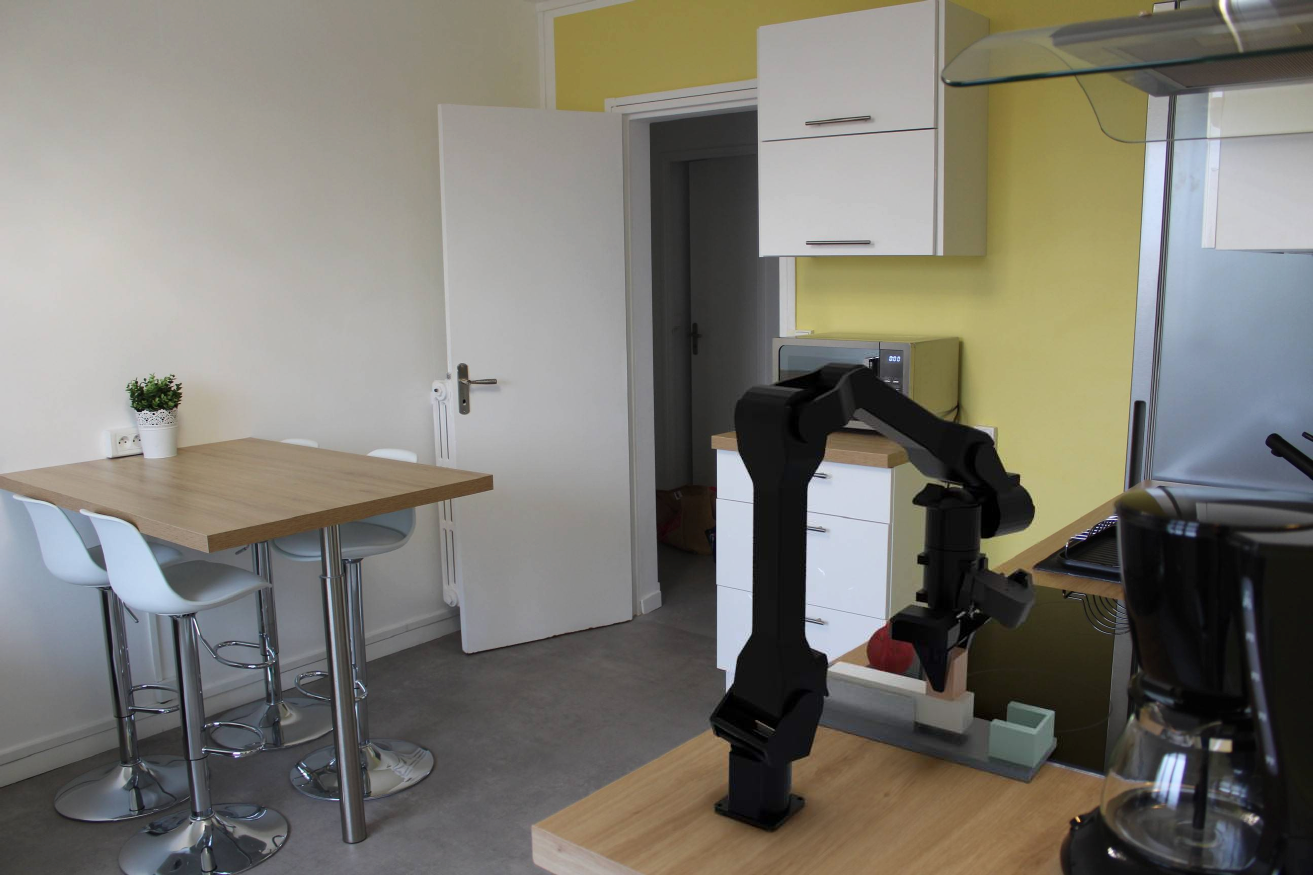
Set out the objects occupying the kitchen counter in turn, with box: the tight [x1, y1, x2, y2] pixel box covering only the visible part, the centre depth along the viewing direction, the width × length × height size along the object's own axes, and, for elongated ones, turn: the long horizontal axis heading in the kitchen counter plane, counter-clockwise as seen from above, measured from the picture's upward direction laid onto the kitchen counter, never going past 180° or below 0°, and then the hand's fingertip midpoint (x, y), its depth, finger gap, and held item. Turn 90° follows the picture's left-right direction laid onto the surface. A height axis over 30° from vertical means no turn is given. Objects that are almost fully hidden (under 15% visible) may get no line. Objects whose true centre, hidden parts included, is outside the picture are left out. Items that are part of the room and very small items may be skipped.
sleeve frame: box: [818, 662, 1058, 784], centre depth 111 cm, size 10×26×4 cm, turn 54°
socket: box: [989, 701, 1056, 768], centre depth 105 cm, size 7×4×4 cm, turn 144°
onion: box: [866, 618, 915, 676], centre depth 126 cm, size 6×6×8 cm
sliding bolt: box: [827, 647, 975, 733], centre depth 113 cm, size 4×16×8 cm, turn 54°
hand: (946, 685), depth 109 cm, fingers closed on sliding bolt, 4 cm apart
